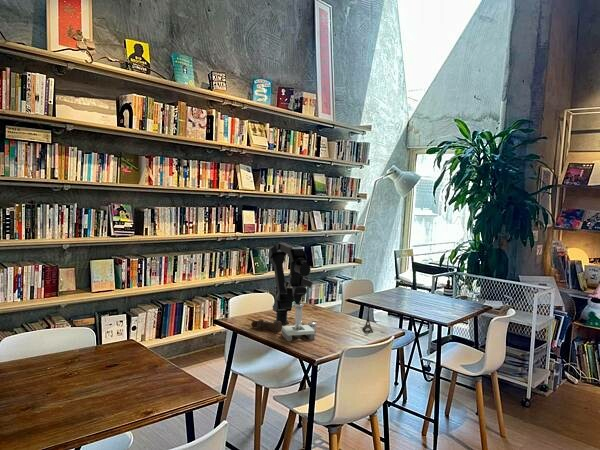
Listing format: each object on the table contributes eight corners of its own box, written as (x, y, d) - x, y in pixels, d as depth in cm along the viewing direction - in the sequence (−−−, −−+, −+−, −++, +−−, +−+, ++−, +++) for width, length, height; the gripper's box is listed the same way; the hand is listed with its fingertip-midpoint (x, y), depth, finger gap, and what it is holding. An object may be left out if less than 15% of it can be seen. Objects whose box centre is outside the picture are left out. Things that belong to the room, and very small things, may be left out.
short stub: (306, 331, 214) (306, 321, 214) (315, 331, 216) (315, 321, 215) (309, 334, 210) (309, 324, 210) (318, 333, 211) (318, 324, 211)
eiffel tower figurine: (386, 333, 217) (388, 307, 217) (373, 337, 211) (375, 310, 210) (363, 326, 229) (364, 301, 228) (350, 330, 222) (351, 303, 221)
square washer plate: (281, 334, 208) (281, 326, 208) (307, 332, 212) (307, 324, 212) (287, 341, 199) (287, 332, 198) (314, 339, 203) (314, 330, 202)
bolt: (253, 330, 218) (280, 334, 213) (248, 328, 214) (276, 331, 209) (255, 319, 221) (283, 322, 215) (251, 316, 217) (279, 319, 211)
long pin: (293, 335, 208) (295, 302, 207) (303, 335, 207) (304, 303, 206) (292, 337, 203) (293, 304, 203) (302, 338, 203) (303, 305, 202)
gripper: (317, 275, 207) (316, 308, 208) (305, 269, 225) (304, 299, 226) (295, 276, 204) (294, 309, 205) (284, 269, 222) (283, 300, 222)
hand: (294, 304), depth 214 cm, fingers open, 9 cm apart
